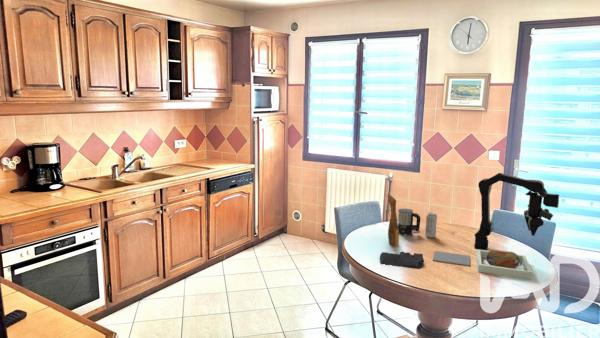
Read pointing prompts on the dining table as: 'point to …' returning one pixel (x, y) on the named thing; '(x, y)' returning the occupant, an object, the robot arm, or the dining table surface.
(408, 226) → the milk frother
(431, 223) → the energy drink can
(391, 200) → the pancake mix bag
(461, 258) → the slate mat
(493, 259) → the tin
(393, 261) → the dark slate chunk
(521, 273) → the grey square frame
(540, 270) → the dining table surface
